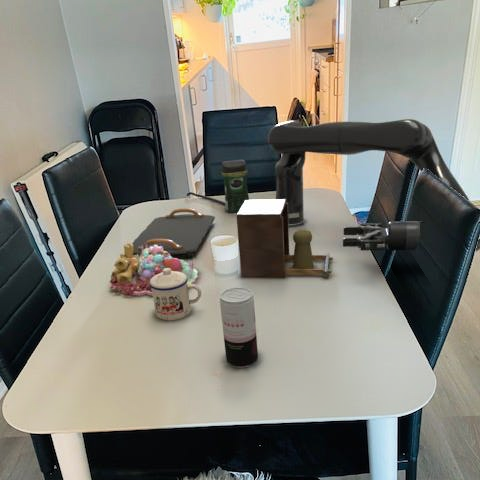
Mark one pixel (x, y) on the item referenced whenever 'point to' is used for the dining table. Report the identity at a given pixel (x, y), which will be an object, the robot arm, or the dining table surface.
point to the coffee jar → (235, 184)
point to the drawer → (310, 271)
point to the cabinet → (263, 238)
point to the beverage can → (239, 326)
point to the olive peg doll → (302, 250)
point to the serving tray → (175, 232)
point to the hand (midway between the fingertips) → (343, 236)
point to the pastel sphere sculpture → (146, 269)
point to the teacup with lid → (172, 294)
